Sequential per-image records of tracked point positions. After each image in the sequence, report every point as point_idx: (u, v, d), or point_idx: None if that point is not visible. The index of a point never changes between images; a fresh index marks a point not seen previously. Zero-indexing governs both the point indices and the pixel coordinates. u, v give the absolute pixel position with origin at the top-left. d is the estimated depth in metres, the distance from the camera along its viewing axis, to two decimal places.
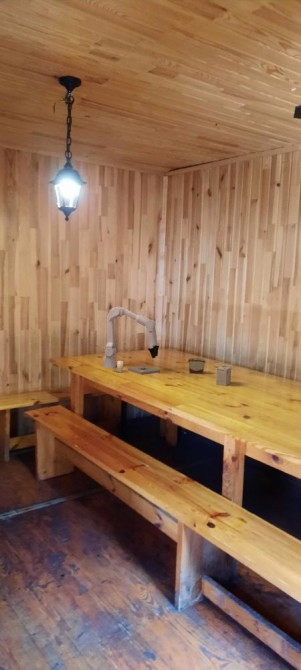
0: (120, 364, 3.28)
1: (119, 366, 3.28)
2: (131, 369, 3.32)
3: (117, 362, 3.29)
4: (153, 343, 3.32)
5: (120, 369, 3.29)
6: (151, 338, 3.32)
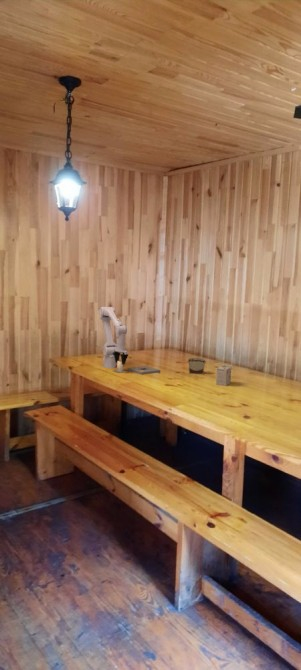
0: (120, 364, 3.28)
1: (119, 366, 3.28)
2: (131, 369, 3.32)
3: (117, 362, 3.29)
4: None
5: (120, 369, 3.29)
6: None
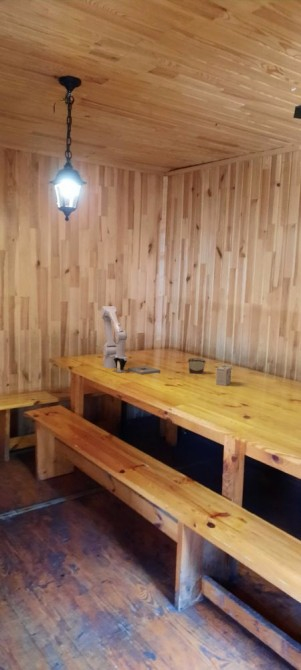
0: None
1: (119, 366, 3.28)
2: (131, 369, 3.32)
3: (117, 362, 3.29)
4: None
5: None
6: None
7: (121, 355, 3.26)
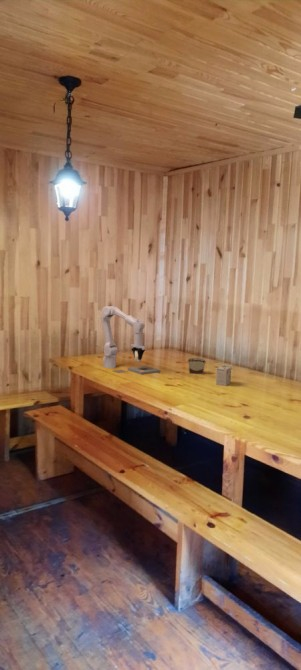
0: None
1: (137, 356, 3.30)
2: (131, 369, 3.32)
3: (135, 352, 3.30)
4: None
5: None
6: None
7: (139, 345, 3.28)
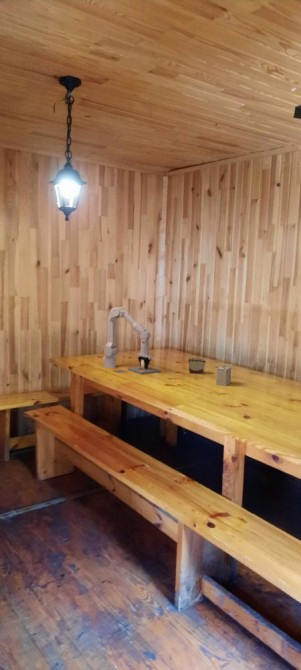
0: None
1: (143, 365, 3.32)
2: (131, 369, 3.32)
3: (141, 361, 3.32)
4: None
5: (144, 368, 3.32)
6: None
7: (145, 354, 3.30)
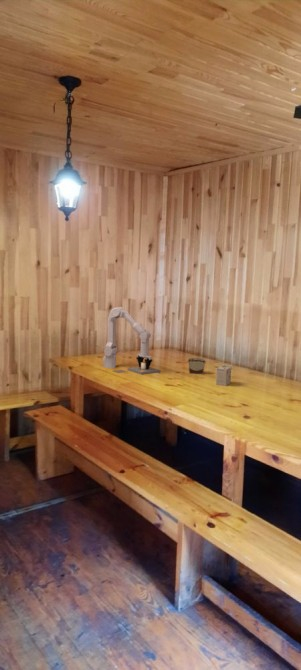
0: (144, 365, 3.32)
1: (143, 367, 3.32)
2: (131, 369, 3.32)
3: (141, 363, 3.33)
4: None
5: None
6: None
7: (145, 354, 3.30)
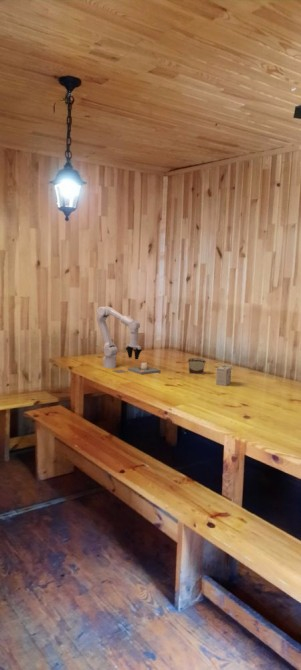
0: (144, 365, 3.32)
1: (143, 367, 3.32)
2: (131, 369, 3.32)
3: (141, 363, 3.33)
4: None
5: None
6: None
7: (134, 344, 3.31)
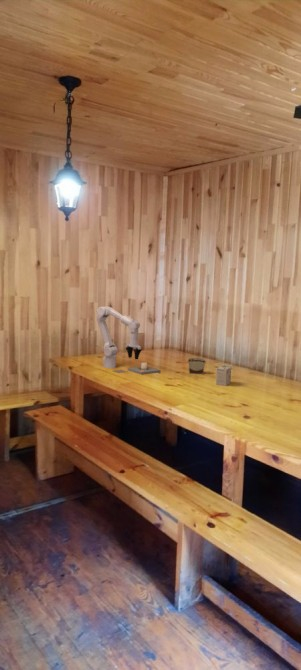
0: (144, 365, 3.32)
1: (143, 367, 3.32)
2: (131, 369, 3.32)
3: (141, 363, 3.33)
4: None
5: None
6: None
7: (134, 344, 3.31)
